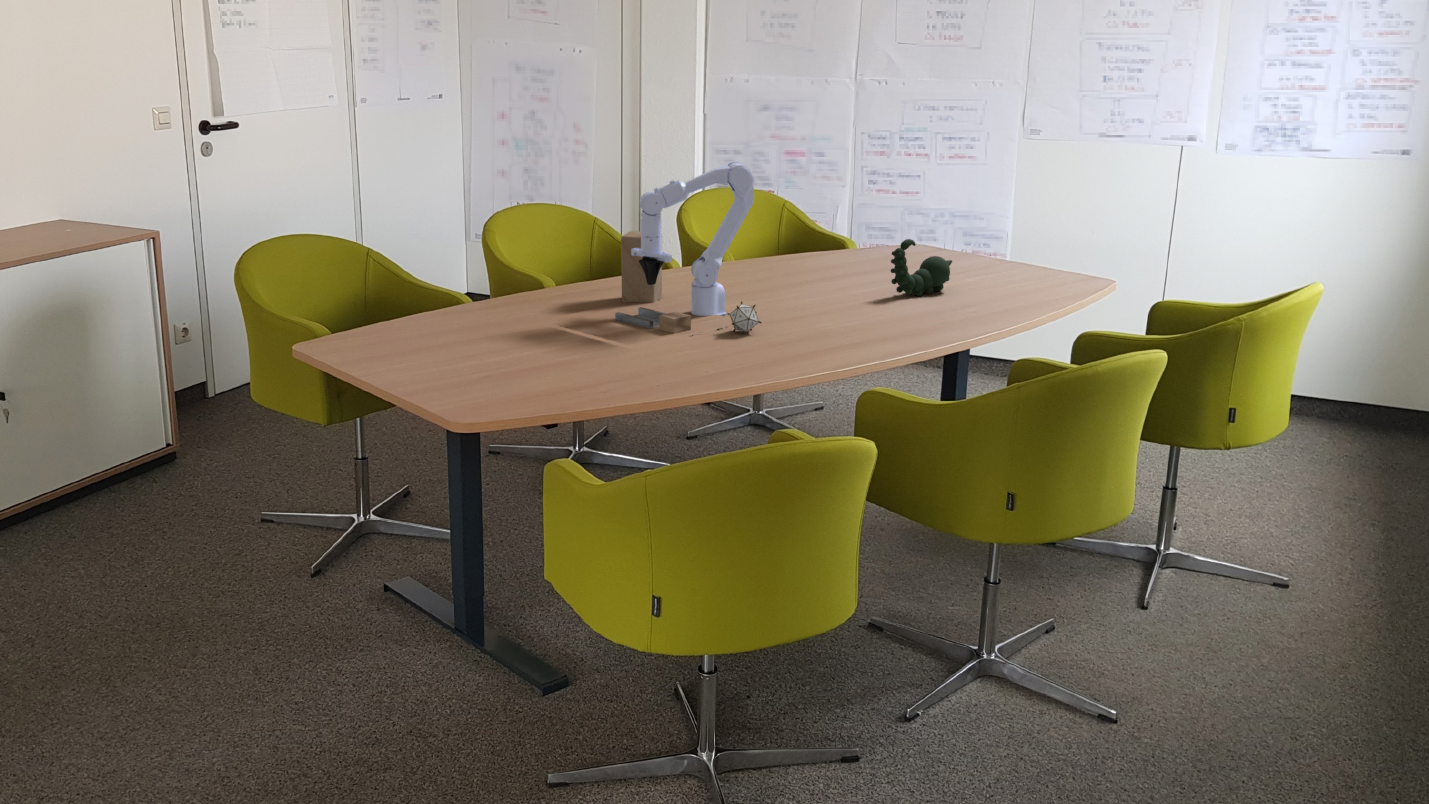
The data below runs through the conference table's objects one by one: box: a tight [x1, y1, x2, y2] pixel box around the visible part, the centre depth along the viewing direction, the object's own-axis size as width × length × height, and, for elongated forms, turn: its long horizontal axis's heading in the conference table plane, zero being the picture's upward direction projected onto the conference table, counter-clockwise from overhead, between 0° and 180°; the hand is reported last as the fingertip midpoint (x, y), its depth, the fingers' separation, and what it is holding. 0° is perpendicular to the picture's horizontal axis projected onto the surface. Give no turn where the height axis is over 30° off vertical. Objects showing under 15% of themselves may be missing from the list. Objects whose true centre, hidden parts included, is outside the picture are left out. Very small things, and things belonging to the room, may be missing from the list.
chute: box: [614, 306, 702, 333], centre depth 328 cm, size 10×24×3 cm, turn 46°
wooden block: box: [620, 230, 663, 304], centre depth 356 cm, size 10×10×20 cm
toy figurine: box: [890, 238, 953, 297], centre depth 371 cm, size 9×19×25 cm
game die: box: [726, 301, 763, 336], centre depth 323 cm, size 9×8×10 cm
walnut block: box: [658, 311, 692, 334], centre depth 323 cm, size 6×6×4 cm
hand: (651, 284), depth 337 cm, fingers closed
